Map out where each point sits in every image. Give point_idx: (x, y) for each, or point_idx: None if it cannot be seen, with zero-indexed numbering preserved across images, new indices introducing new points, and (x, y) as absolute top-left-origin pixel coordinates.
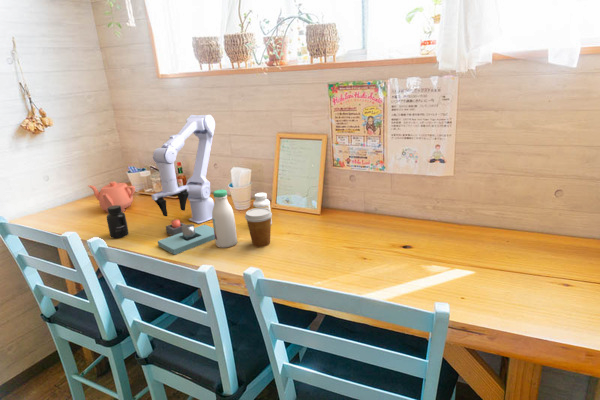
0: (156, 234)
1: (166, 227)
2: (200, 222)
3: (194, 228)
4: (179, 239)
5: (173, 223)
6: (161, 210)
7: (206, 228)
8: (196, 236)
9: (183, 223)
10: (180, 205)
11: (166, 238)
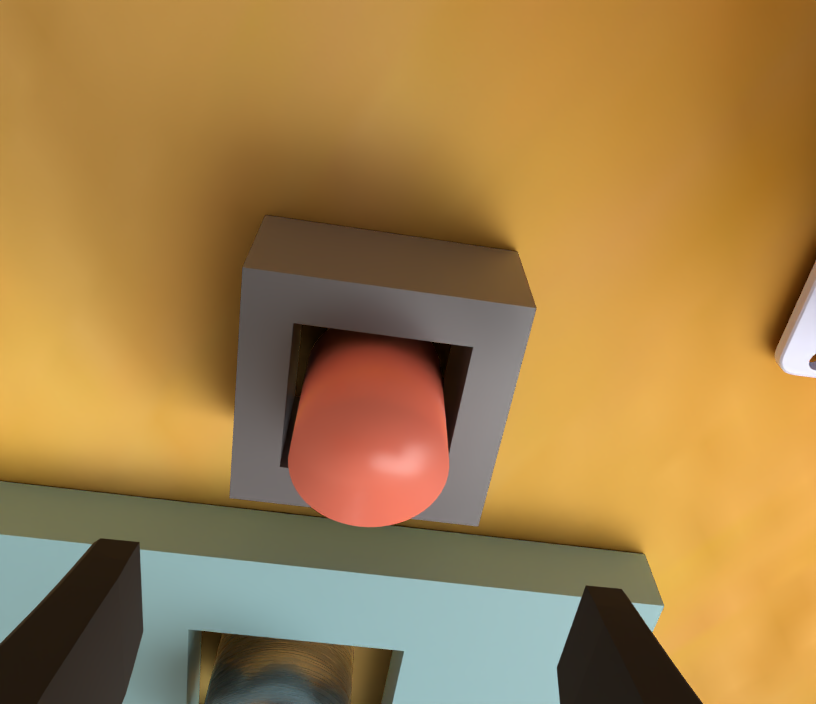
0: (124, 81)
1: (244, 284)
2: (813, 376)
3: (488, 599)
4: (150, 684)
5: (297, 475)
6: (13, 646)
7: (555, 699)
8: (394, 650)
9: (500, 436)
10: (614, 680)
11: (49, 554)
